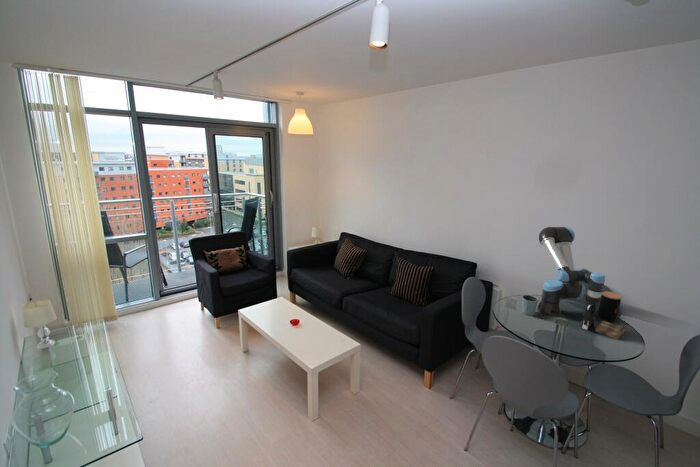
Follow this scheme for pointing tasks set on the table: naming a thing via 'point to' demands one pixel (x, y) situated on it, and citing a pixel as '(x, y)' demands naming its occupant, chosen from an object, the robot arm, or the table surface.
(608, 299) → the coffee jar
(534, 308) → the grey green cup
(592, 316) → the supplement bottle
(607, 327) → the dock
